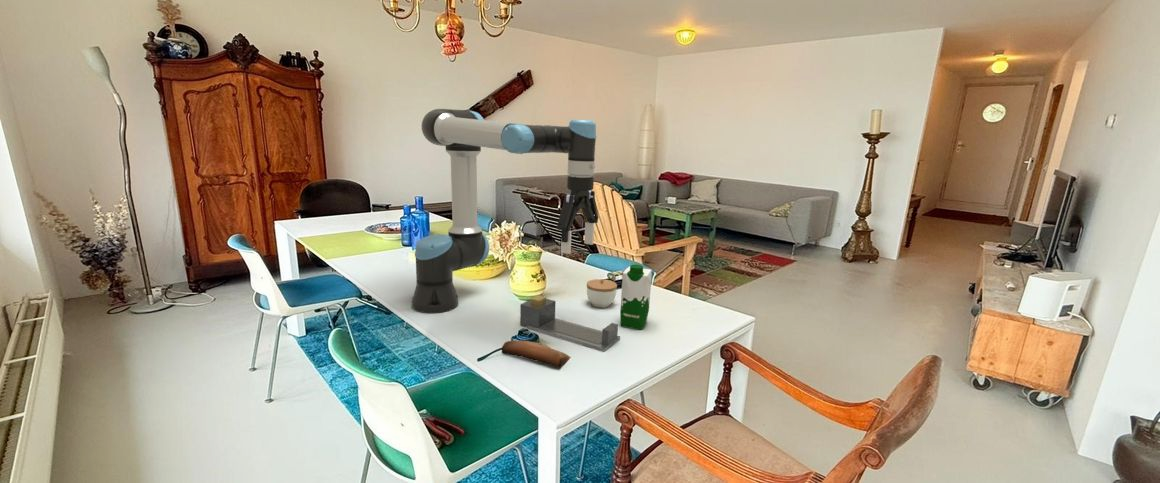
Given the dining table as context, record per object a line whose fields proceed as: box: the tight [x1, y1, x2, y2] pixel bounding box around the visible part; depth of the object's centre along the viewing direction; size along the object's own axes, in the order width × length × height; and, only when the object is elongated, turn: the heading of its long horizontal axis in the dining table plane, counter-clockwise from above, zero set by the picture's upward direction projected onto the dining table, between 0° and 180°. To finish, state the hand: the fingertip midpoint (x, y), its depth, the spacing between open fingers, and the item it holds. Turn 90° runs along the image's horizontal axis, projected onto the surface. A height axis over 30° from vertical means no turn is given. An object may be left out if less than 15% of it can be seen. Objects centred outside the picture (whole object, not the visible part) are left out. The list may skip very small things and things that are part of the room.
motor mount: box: [519, 294, 621, 352], centre depth 145 cm, size 31×10×9 cm, turn 59°
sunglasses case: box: [501, 340, 572, 369], centre depth 130 cm, size 18×7×7 cm
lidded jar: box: [586, 278, 618, 309], centre depth 169 cm, size 11×11×9 cm
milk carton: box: [619, 264, 652, 331], centre depth 152 cm, size 9×9×20 cm
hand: (577, 248), depth 141 cm, fingers open, 13 cm apart
